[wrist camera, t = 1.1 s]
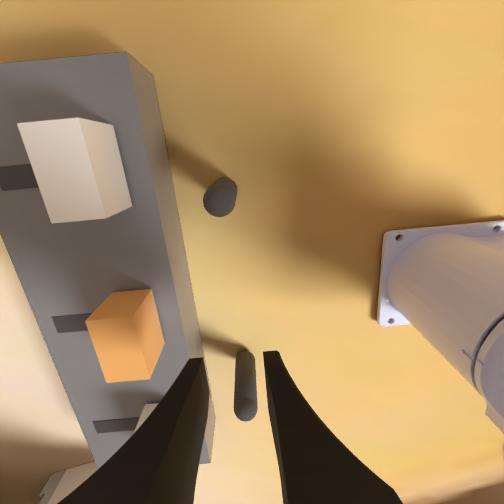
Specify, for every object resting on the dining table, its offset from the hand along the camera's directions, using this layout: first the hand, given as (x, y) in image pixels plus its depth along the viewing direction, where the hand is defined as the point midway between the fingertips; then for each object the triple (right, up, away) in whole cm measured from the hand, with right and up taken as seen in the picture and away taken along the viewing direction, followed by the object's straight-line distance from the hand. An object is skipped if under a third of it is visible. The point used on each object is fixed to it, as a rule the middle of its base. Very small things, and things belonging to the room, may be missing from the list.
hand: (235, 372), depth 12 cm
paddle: (-7, +10, +2) cm, 12 cm away
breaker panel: (-8, +2, +9) cm, 12 cm away
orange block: (-6, +1, +5) cm, 8 cm away
